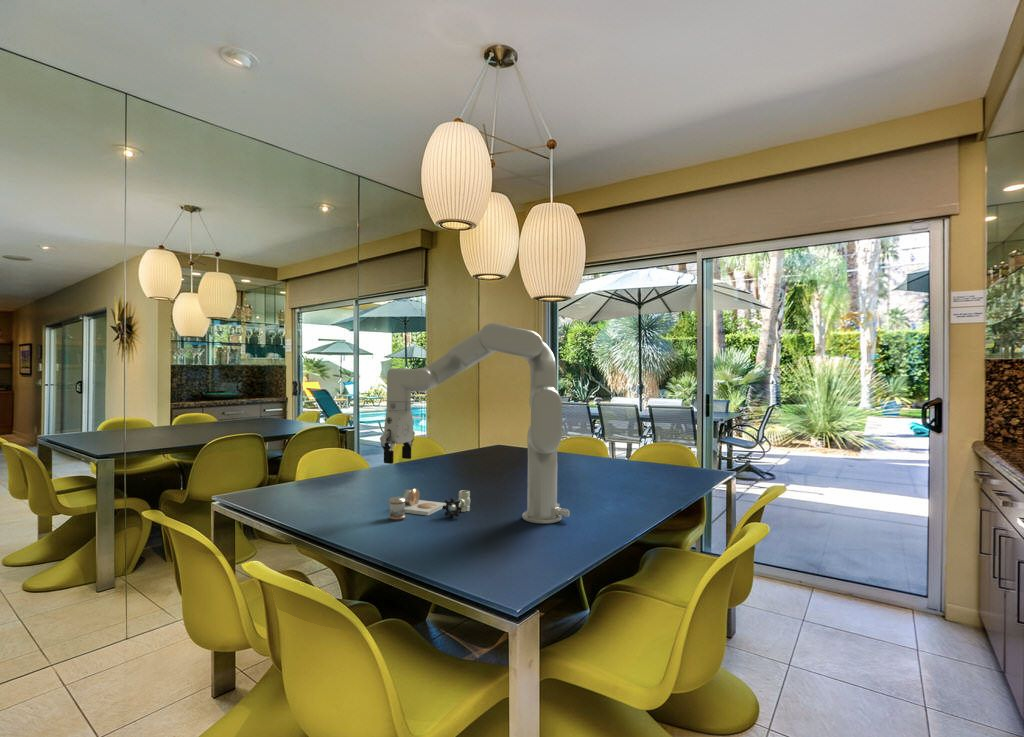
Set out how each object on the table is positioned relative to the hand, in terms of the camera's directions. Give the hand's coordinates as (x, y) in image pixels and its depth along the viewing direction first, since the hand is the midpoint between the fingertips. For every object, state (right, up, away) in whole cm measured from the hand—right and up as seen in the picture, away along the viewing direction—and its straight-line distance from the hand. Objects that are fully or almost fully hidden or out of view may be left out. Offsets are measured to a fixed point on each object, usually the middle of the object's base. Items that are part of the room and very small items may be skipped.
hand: (397, 460), depth 159 cm
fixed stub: (+1, -18, +13) cm, 23 cm away
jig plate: (+6, -19, +11) cm, 22 cm away
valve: (+19, -19, +6) cm, 28 cm away
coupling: (0, -18, 0) cm, 18 cm away
